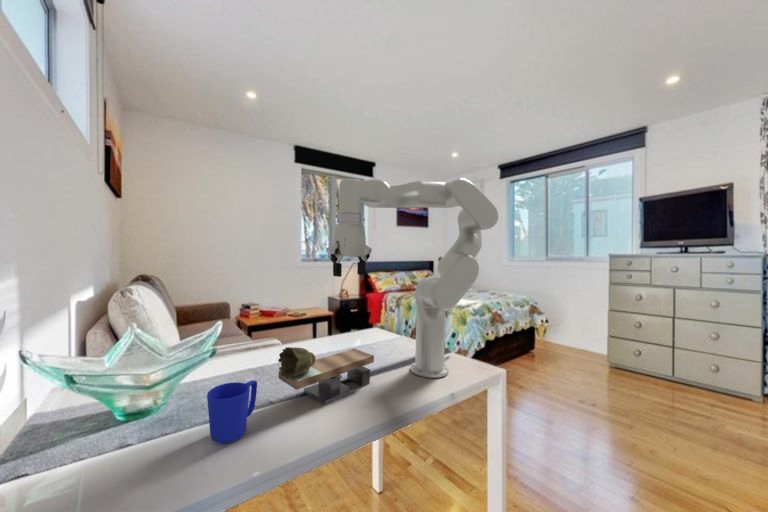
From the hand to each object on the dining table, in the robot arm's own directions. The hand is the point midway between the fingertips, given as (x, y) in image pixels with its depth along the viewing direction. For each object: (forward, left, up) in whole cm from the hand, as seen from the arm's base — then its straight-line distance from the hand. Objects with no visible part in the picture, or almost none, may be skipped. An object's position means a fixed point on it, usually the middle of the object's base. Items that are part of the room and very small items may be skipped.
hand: (349, 275), depth 99 cm
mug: (+36, +5, -32) cm, 49 cm away
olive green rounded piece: (+16, +4, -21) cm, 27 cm away
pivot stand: (+6, +4, -32) cm, 33 cm away
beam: (+10, +4, -26) cm, 28 cm away
